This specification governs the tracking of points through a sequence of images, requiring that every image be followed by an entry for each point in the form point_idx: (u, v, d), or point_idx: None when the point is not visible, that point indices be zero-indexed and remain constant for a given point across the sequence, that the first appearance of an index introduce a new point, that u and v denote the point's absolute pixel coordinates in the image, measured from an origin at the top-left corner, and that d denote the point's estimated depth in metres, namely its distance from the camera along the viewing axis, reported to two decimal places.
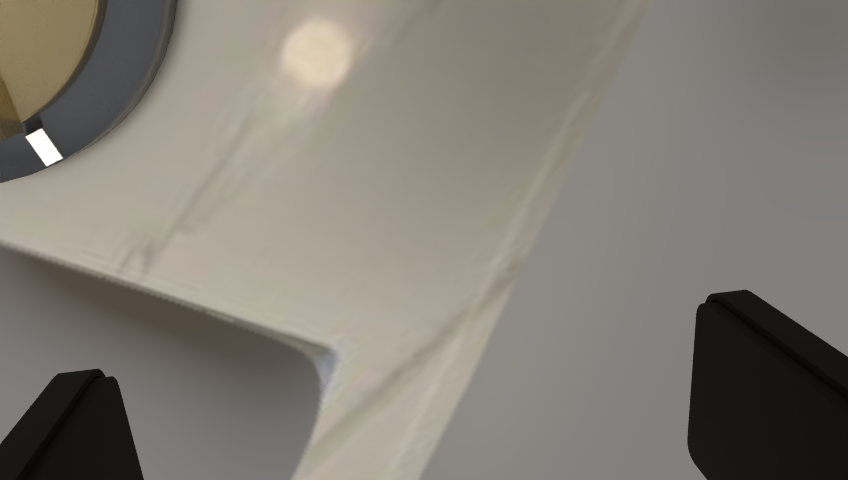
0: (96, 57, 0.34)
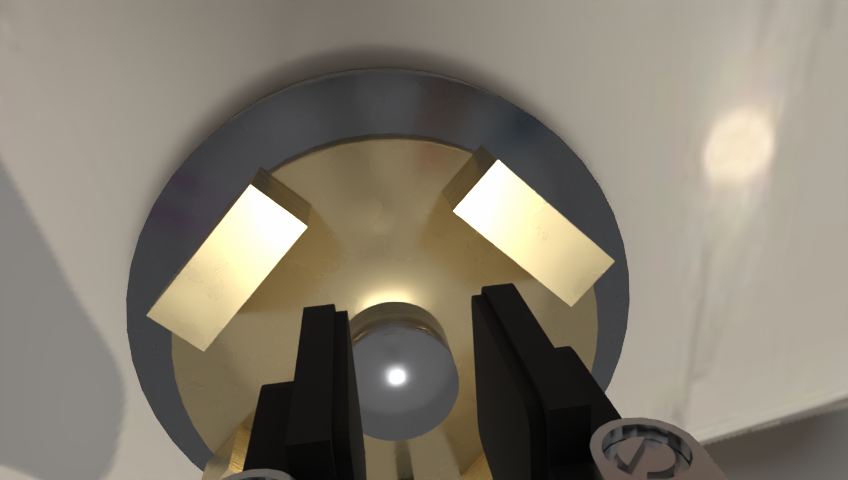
0: None
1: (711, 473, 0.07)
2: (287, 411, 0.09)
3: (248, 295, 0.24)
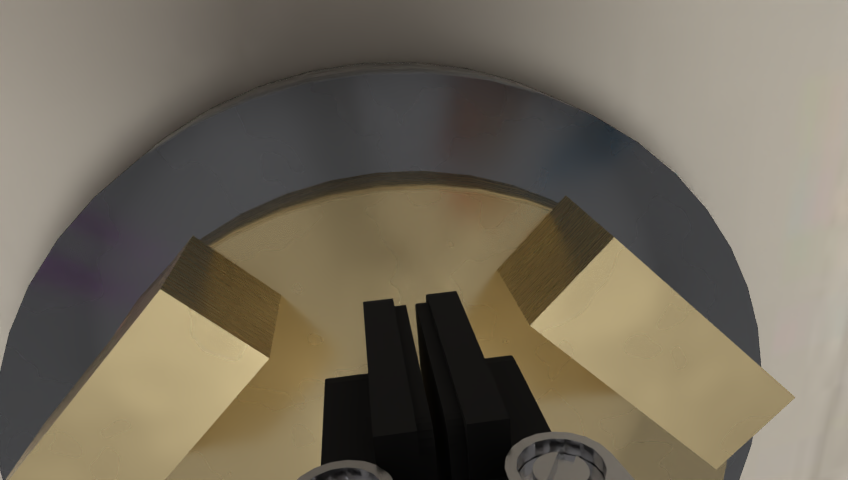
0: None
1: None
2: (356, 405, 0.09)
3: (166, 473, 0.14)
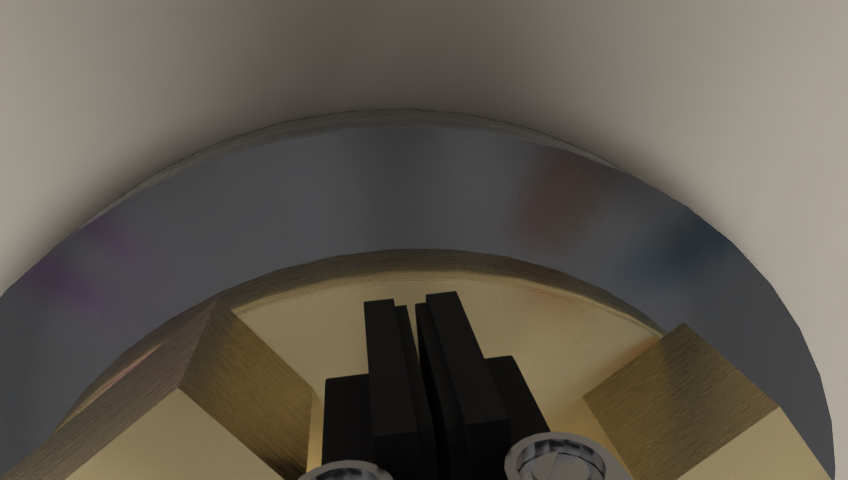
0: None
1: None
2: (357, 405, 0.09)
3: None
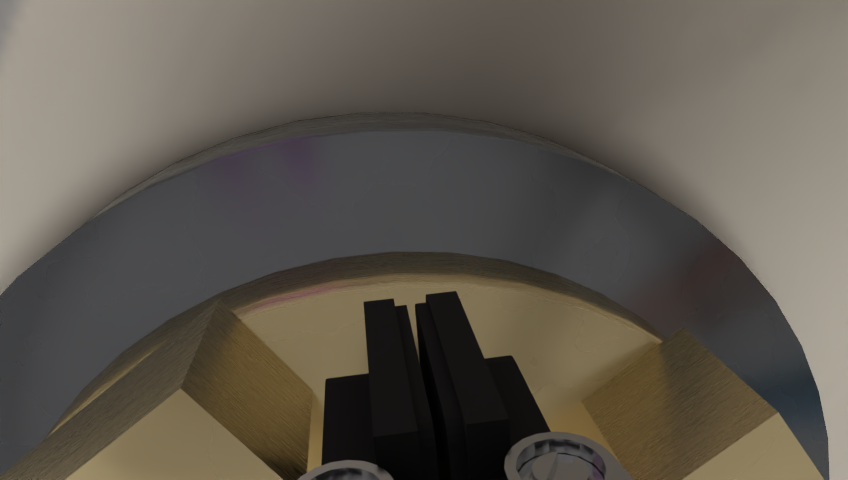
0: None
1: None
2: (357, 405, 0.09)
3: None
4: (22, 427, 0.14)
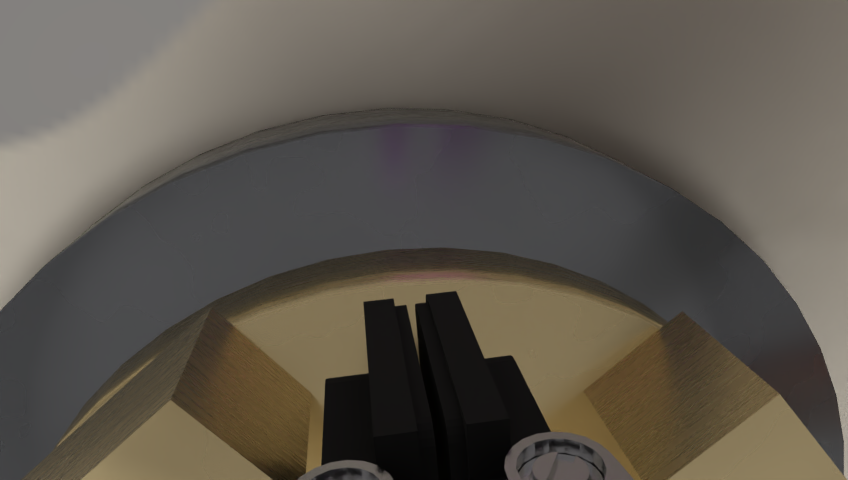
0: None
1: None
2: (357, 405, 0.09)
3: None
4: (162, 299, 0.14)
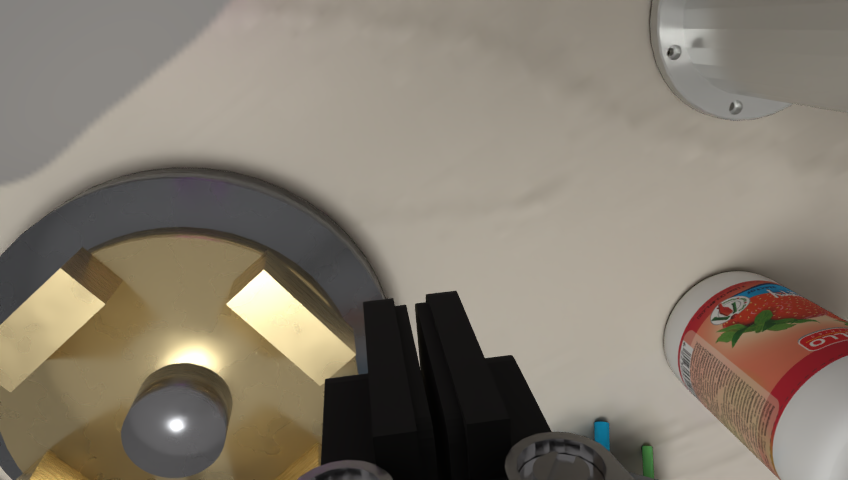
0: None
1: None
2: (356, 405, 0.09)
3: (52, 352, 0.30)
4: (69, 248, 0.34)
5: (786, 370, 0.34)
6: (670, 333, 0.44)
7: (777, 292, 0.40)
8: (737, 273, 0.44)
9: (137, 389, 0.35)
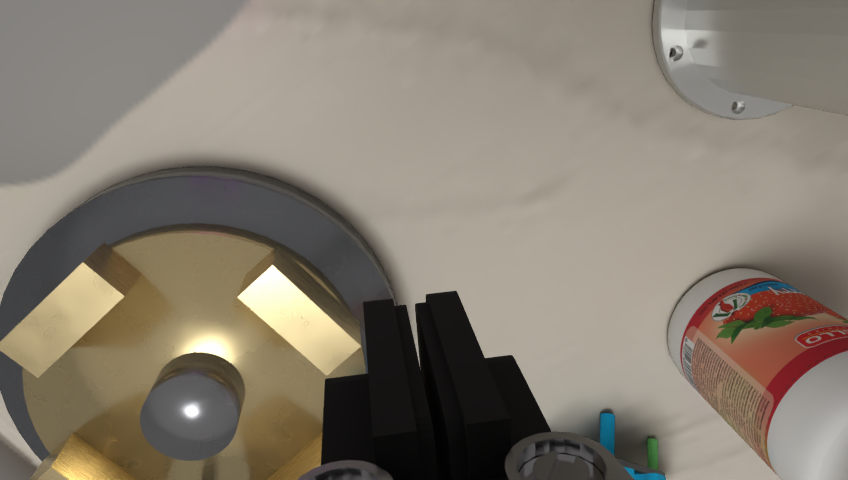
0: None
1: None
2: (356, 405, 0.09)
3: (75, 340, 0.32)
4: (92, 242, 0.36)
5: (781, 366, 0.35)
6: (673, 329, 0.45)
7: (778, 289, 0.41)
8: (740, 270, 0.44)
9: (155, 376, 0.37)
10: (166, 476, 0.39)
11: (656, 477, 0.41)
